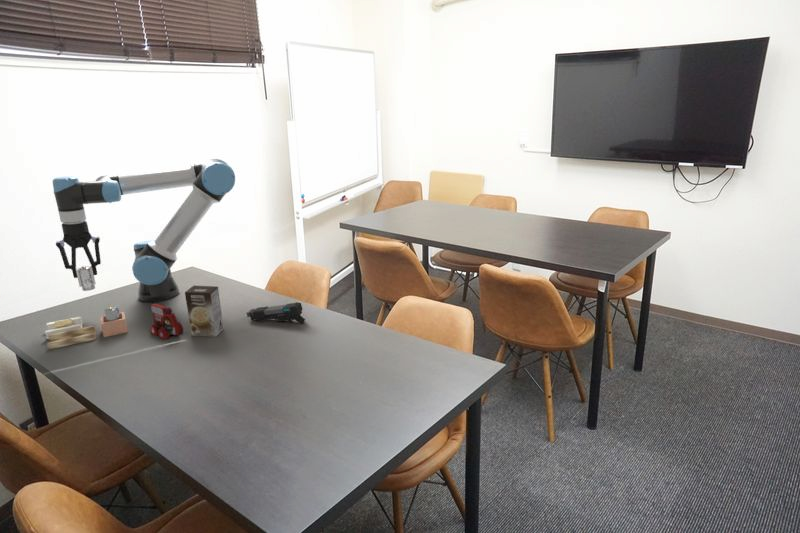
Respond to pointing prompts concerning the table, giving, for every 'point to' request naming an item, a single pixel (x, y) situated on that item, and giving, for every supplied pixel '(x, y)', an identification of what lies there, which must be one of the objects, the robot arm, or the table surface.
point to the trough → (71, 337)
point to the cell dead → (112, 314)
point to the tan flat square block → (63, 323)
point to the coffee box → (204, 310)
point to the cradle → (75, 325)
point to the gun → (278, 313)
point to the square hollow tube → (114, 325)
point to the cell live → (86, 278)
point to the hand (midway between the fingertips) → (87, 284)
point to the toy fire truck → (164, 322)
